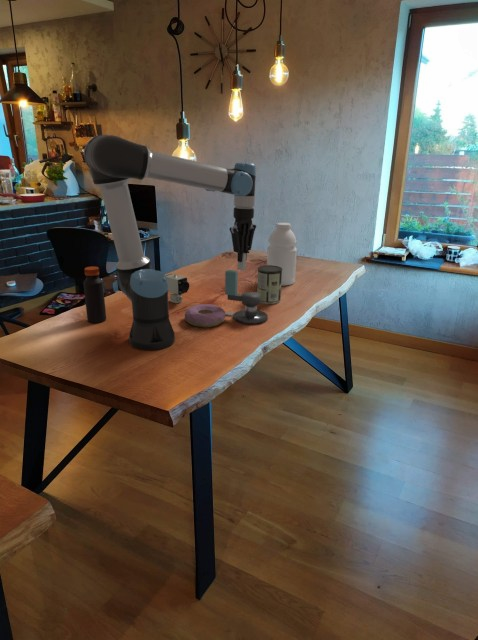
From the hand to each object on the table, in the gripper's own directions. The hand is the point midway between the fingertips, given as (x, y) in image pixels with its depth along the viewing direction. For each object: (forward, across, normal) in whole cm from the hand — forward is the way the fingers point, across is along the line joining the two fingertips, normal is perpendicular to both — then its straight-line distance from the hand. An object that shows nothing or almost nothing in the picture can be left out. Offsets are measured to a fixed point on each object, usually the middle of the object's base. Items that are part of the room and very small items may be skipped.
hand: (241, 269), depth 175 cm
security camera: (+18, +10, -26) cm, 33 cm away
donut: (+18, +17, -2) cm, 25 cm away
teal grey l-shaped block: (+11, +5, +5) cm, 13 cm away
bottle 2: (+17, -44, -12) cm, 48 cm away
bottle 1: (+18, +45, -32) cm, 58 cm away
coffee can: (+17, -18, 0) cm, 25 cm away
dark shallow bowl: (+17, +4, +7) cm, 19 cm away
